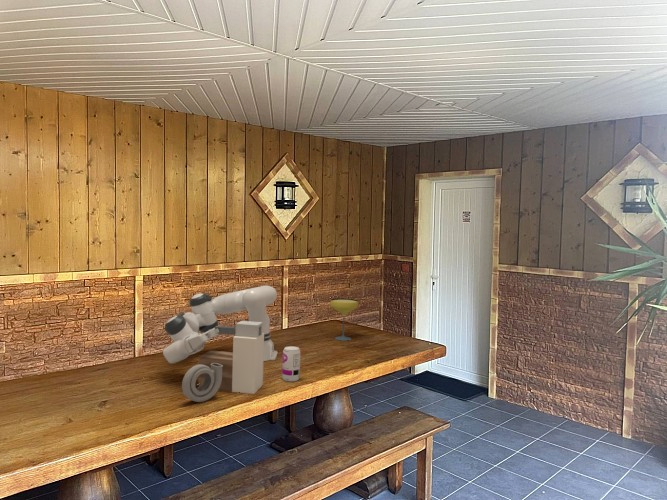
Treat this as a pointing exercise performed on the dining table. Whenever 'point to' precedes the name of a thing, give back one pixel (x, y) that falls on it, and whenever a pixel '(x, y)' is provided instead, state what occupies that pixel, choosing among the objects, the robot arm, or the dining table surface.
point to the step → (227, 368)
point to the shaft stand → (248, 357)
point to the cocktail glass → (344, 310)
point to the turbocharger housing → (209, 385)
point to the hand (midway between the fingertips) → (220, 328)
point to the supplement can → (291, 364)
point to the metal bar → (228, 330)
